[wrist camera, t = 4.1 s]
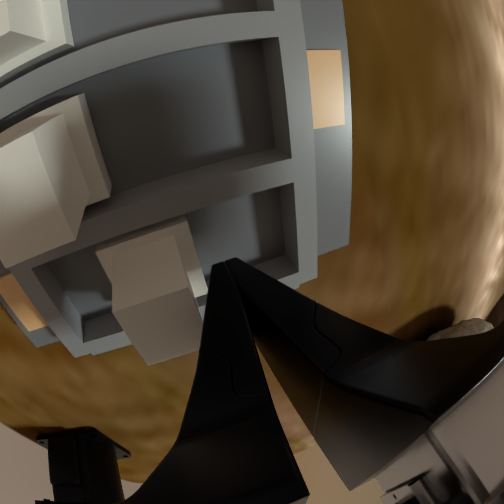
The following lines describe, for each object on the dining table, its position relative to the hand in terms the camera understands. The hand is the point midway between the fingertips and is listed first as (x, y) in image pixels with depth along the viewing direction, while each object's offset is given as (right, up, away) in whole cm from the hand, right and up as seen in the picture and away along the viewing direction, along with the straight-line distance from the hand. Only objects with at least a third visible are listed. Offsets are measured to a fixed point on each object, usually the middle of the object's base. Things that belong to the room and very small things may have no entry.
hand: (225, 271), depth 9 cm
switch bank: (-3, +5, 0) cm, 6 cm away
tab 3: (-3, 0, +1) cm, 3 cm away
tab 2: (-5, +3, -2) cm, 6 cm away
